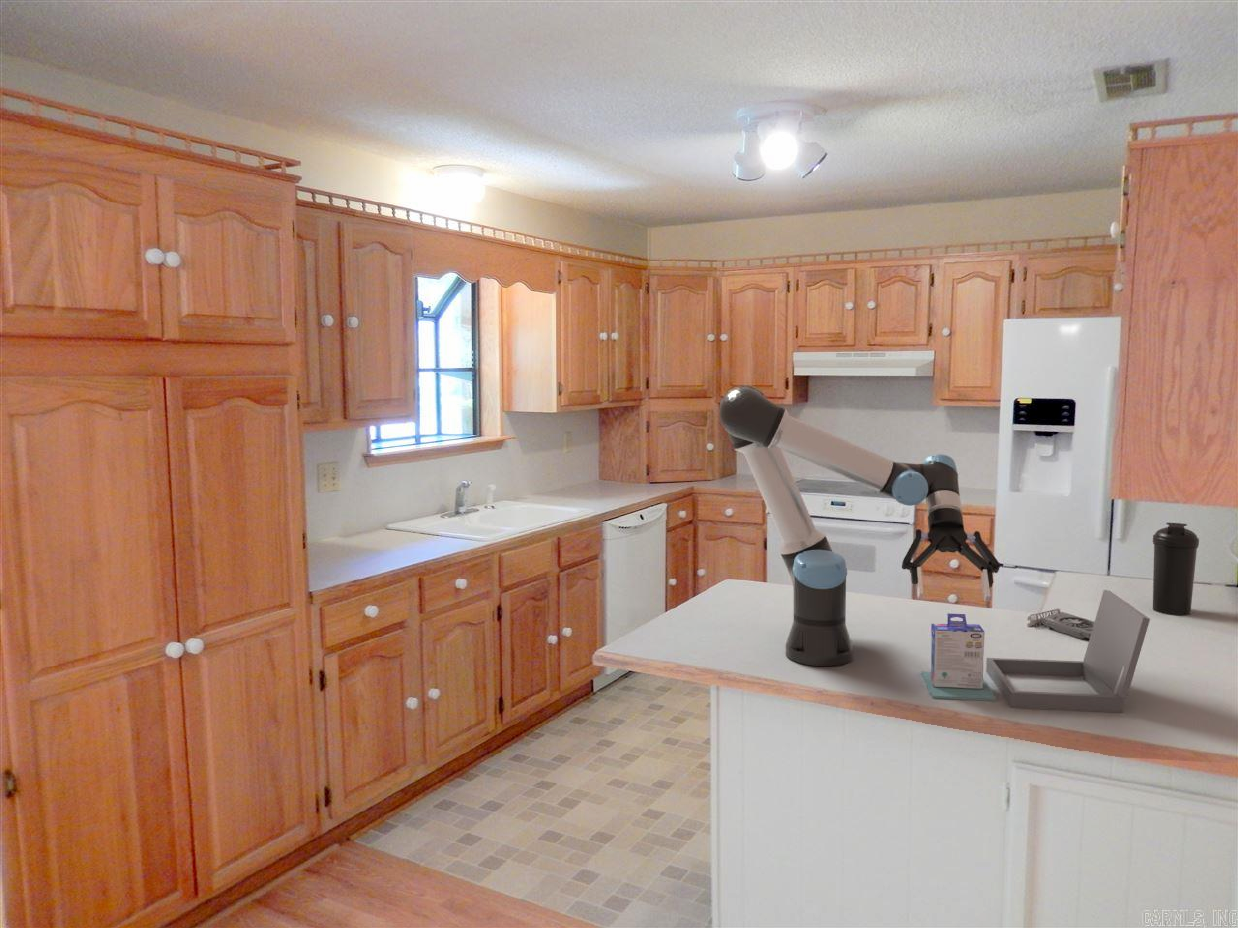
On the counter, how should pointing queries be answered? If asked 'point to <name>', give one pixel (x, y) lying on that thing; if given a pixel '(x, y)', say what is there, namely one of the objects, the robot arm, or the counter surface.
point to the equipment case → (1085, 664)
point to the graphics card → (1063, 623)
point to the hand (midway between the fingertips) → (953, 597)
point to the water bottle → (1174, 569)
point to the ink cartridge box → (957, 654)
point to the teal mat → (958, 691)
